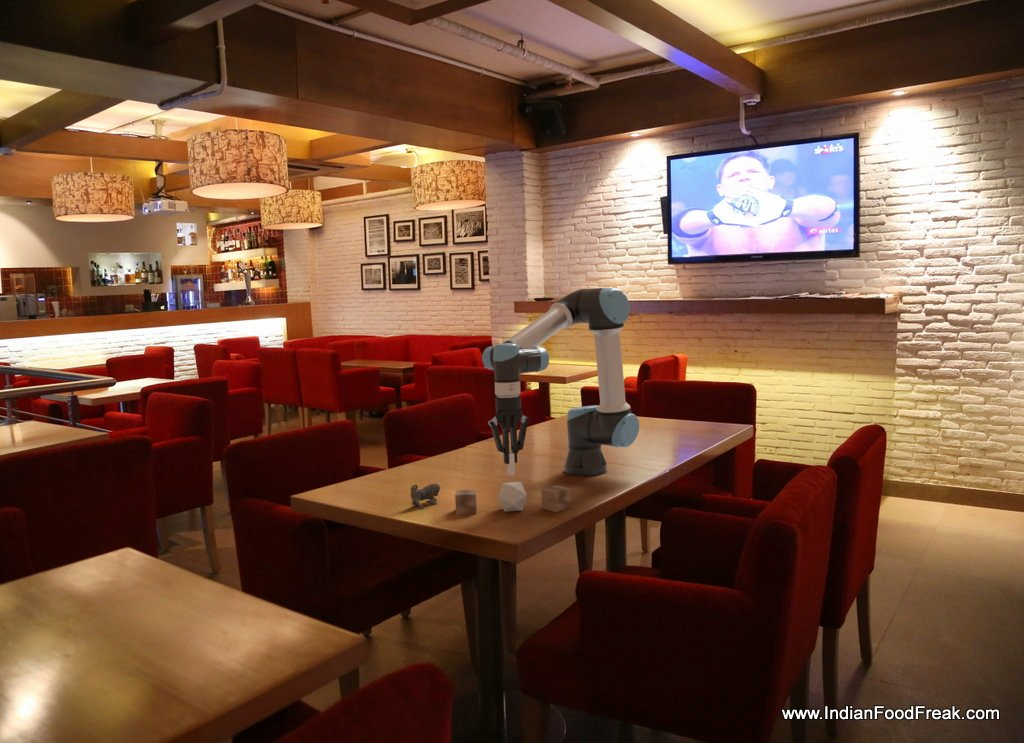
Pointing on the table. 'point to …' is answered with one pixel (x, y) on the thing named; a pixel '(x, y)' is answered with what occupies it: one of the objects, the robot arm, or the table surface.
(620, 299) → the robot arm
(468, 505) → the walnut block
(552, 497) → the walnut block
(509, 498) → the die
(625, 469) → the table surface
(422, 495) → the dog figurine
